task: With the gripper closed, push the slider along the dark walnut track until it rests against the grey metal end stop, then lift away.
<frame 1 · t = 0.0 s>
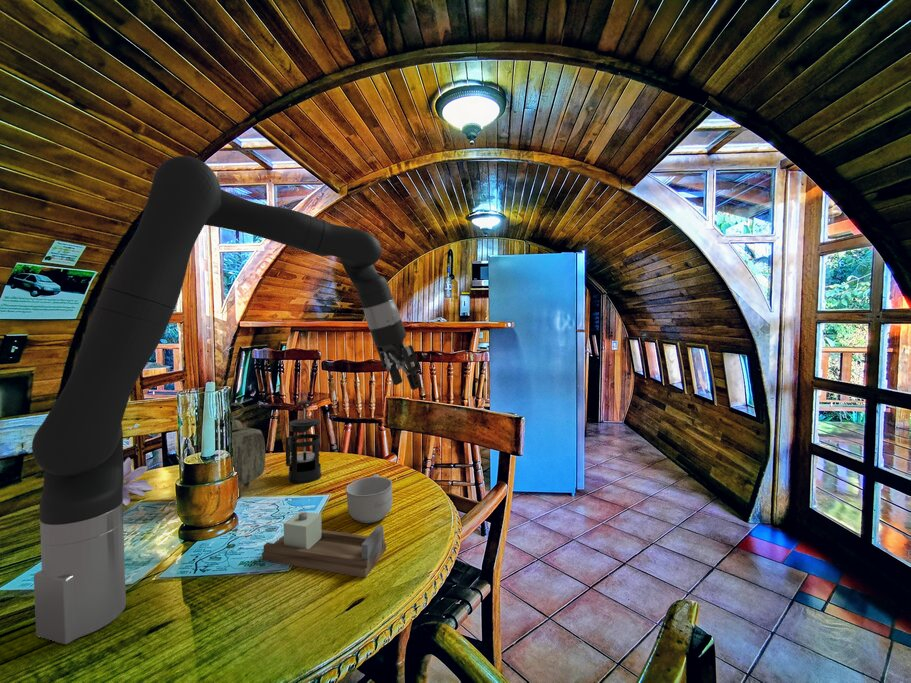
hand: (407, 385, 93), 31 cm above the table, tool tilted 20°, fingers open, 8 cm apart
teacup: (372, 514, 95), on the table
track: (325, 555, 78), on the table
french press: (303, 477, 118), on the table
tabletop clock: (234, 496, 104), on the table
water lily: (127, 499, 103), on the table
slider: (303, 528, 79), point 5 cm above the table, slide at 0.0 cm
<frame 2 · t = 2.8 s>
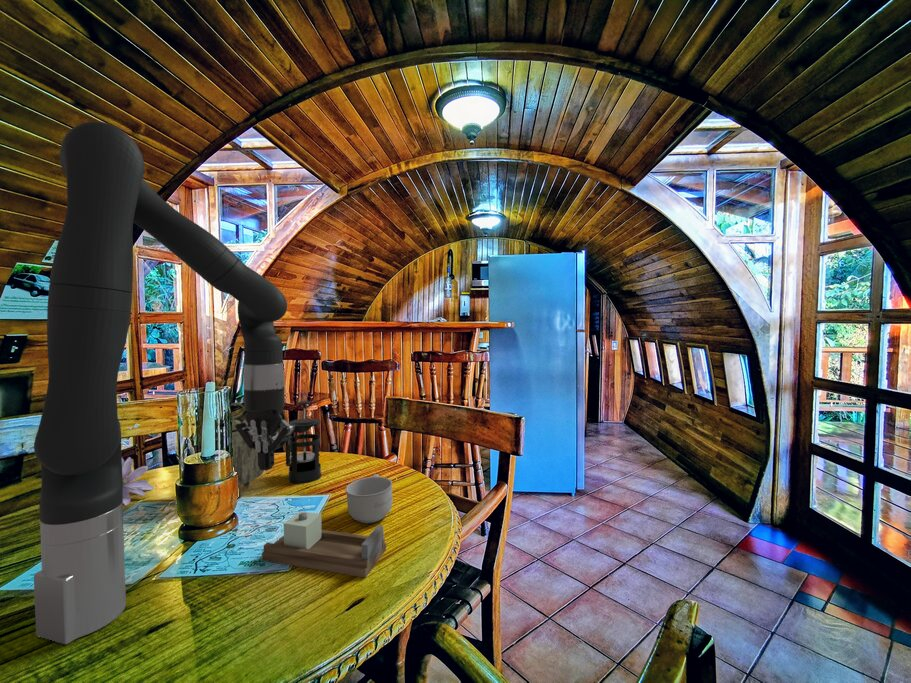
hand: (266, 469, 80), 16 cm above the table, tool pointing down, fingers closed
nothing on the table moved.
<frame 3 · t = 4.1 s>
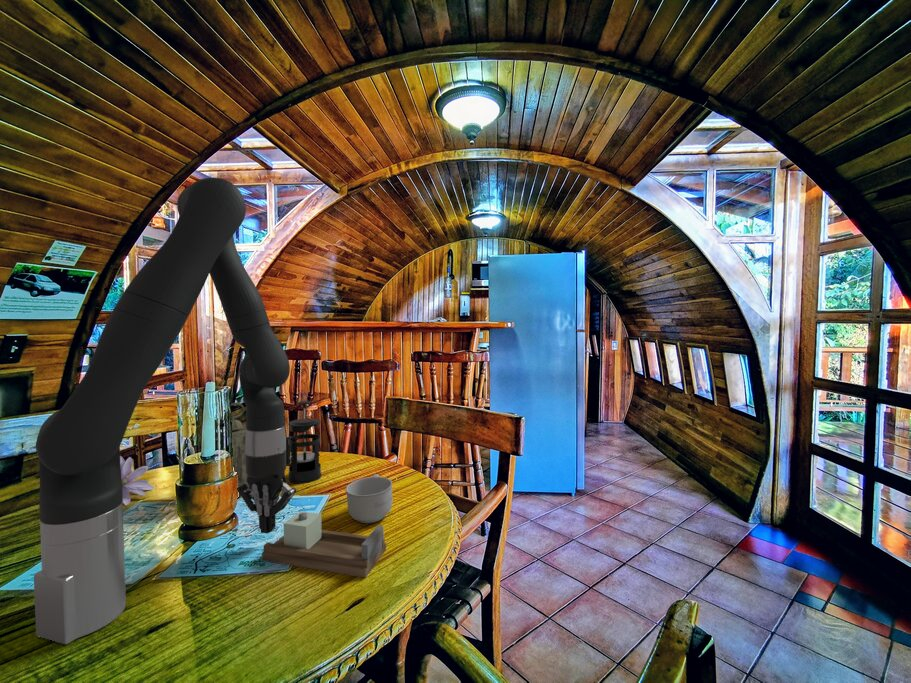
hand: (267, 531, 81), 3 cm above the table, tool pointing down, fingers closed
nothing on the table moved.
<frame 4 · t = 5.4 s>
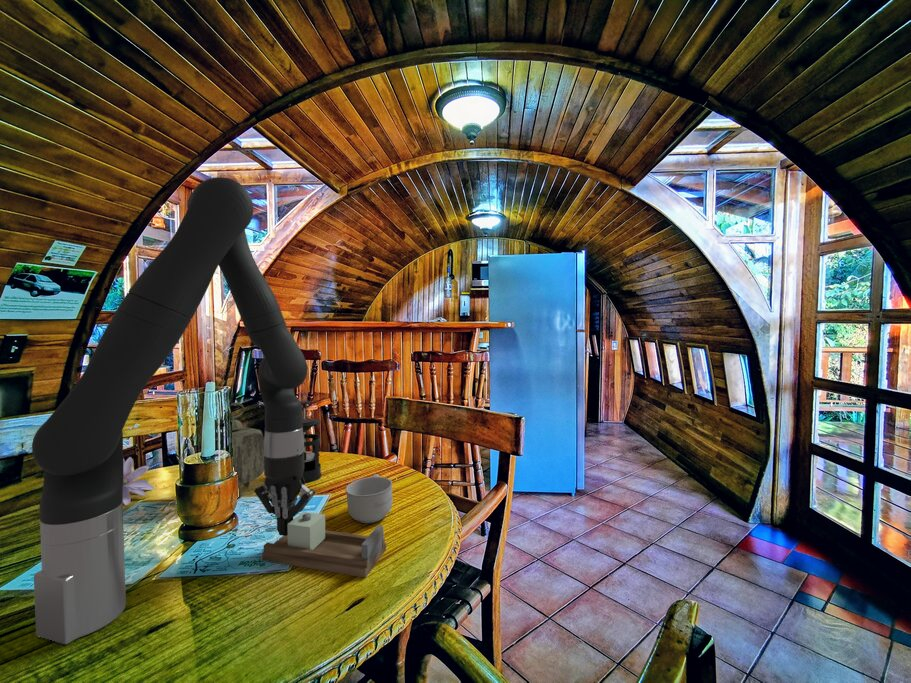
hand: (285, 533, 80), 3 cm above the table, tool pointing down, fingers closed
slider: (306, 529, 79), point 5 cm above the table, slide at 0.9 cm, touching gripper
everything else where it was.
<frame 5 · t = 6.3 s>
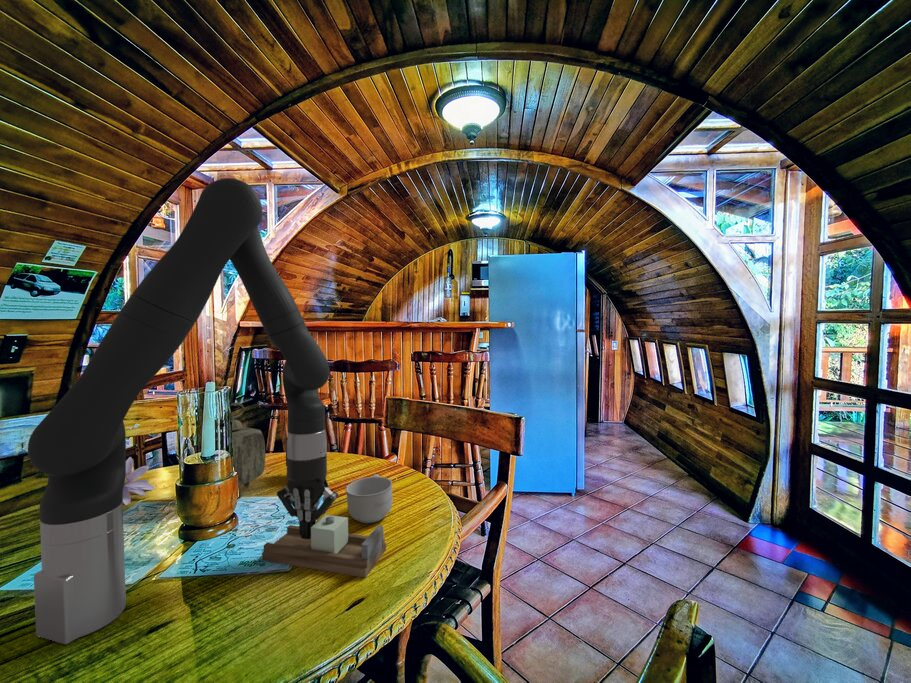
hand: (307, 536, 79), 3 cm above the table, tool pointing down, fingers closed
slider: (330, 532, 78), point 5 cm above the table, slide at 6.1 cm, touching gripper
everything else where it was.
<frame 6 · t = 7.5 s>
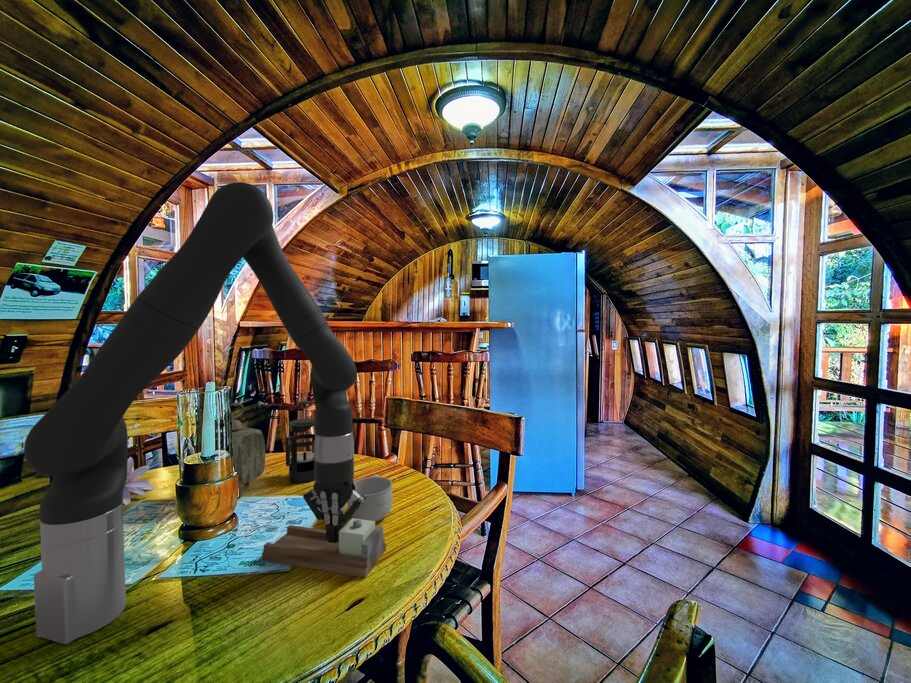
hand: (334, 540, 78), 3 cm above the table, tool pointing down, fingers closed
slider: (357, 536, 76), point 5 cm above the table, slide at 12.1 cm, touching gripper
everything else where it was.
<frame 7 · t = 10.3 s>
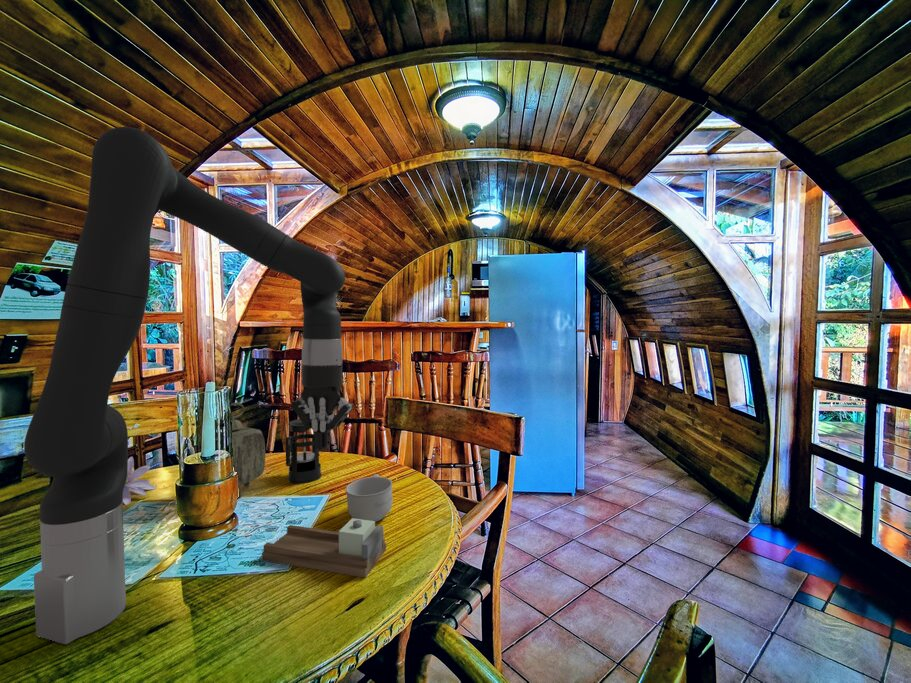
hand: (322, 449, 77), 21 cm above the table, tool pointing down, fingers closed
slider: (357, 536, 76), point 5 cm above the table, slide at 12.0 cm
everything else where it was.
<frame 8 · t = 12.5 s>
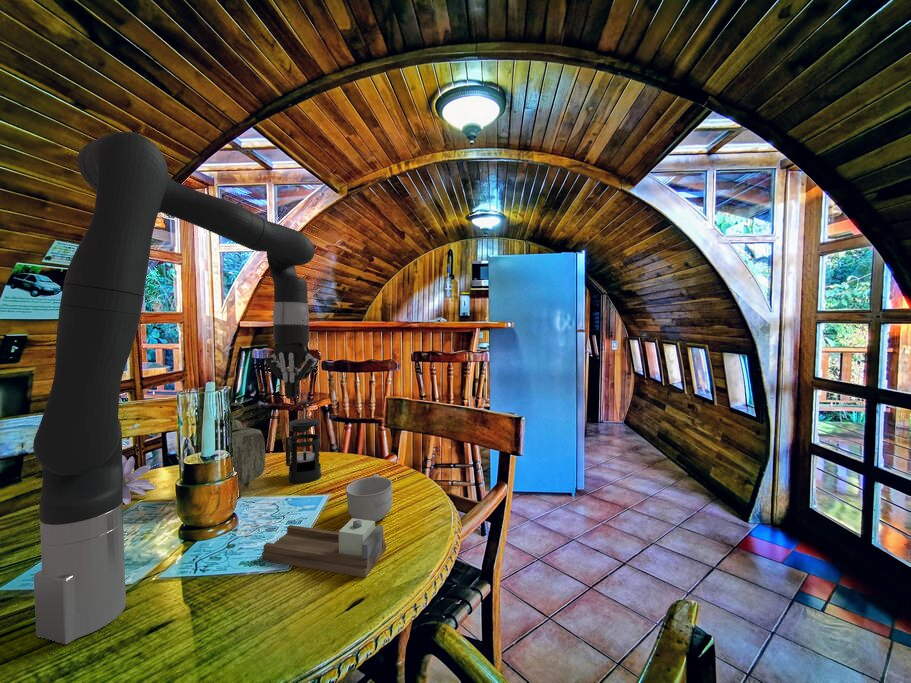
hand: (292, 398, 90), 29 cm above the table, tool pointing down, fingers closed
nothing on the table moved.
at the end: slider slide at 12.0 cm; the gripper is holding nothing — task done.
